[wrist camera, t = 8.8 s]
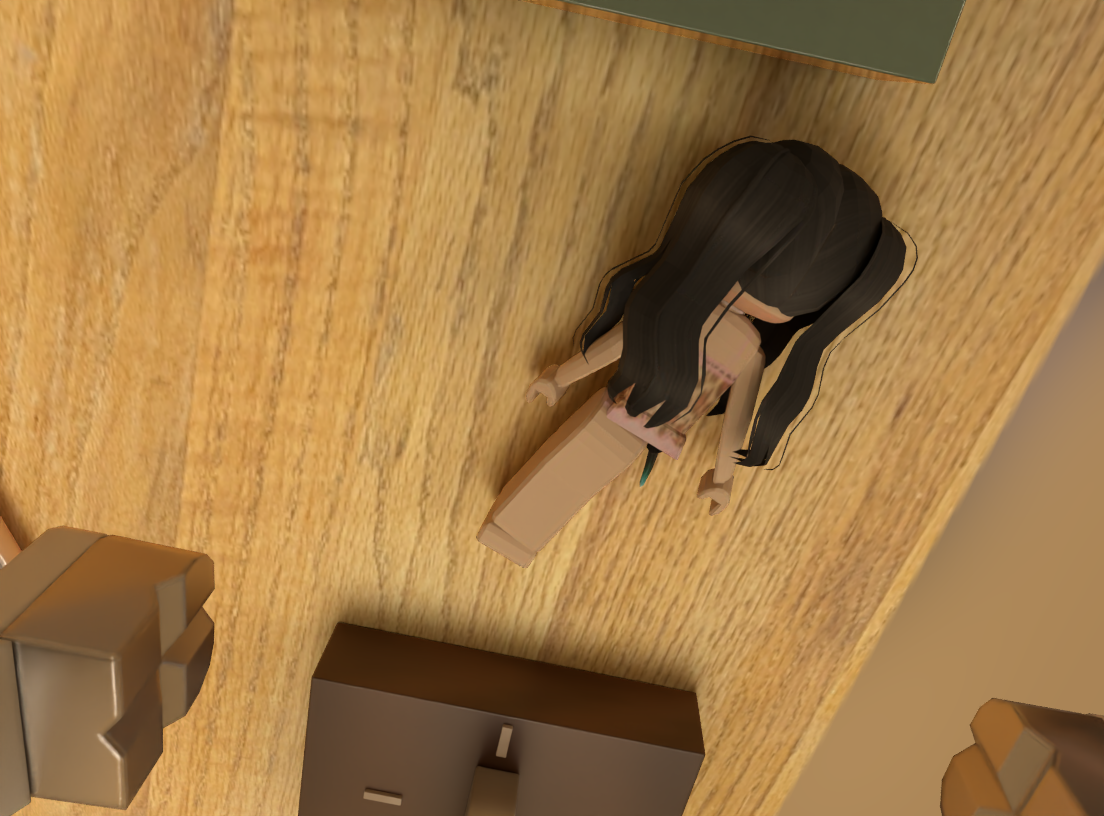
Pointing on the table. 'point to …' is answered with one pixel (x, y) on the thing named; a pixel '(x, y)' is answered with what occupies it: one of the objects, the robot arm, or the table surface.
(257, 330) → the table surface
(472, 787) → the dial
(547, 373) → the toy figure
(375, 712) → the dial panel
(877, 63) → the green push button box
